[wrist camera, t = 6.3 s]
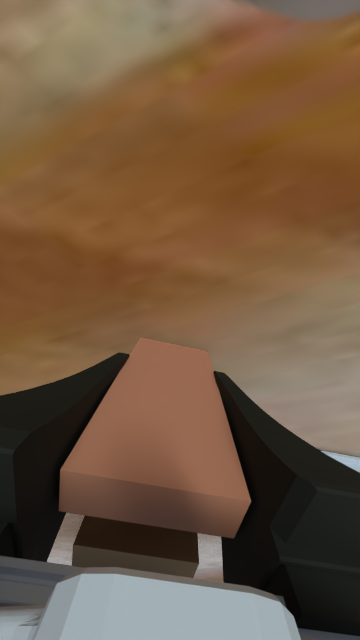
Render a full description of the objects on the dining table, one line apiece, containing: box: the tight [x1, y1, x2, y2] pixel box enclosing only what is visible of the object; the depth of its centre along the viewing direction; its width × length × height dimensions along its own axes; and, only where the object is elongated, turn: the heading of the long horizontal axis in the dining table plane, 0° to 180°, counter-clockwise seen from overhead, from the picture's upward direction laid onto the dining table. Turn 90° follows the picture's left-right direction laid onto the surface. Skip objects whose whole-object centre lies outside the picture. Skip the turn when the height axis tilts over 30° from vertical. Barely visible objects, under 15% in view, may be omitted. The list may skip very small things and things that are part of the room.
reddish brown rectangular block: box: [59, 337, 251, 538], centre depth 9 cm, size 2×5×9 cm, turn 78°
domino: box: [72, 515, 199, 578], centre depth 12 cm, size 2×5×9 cm, turn 78°
